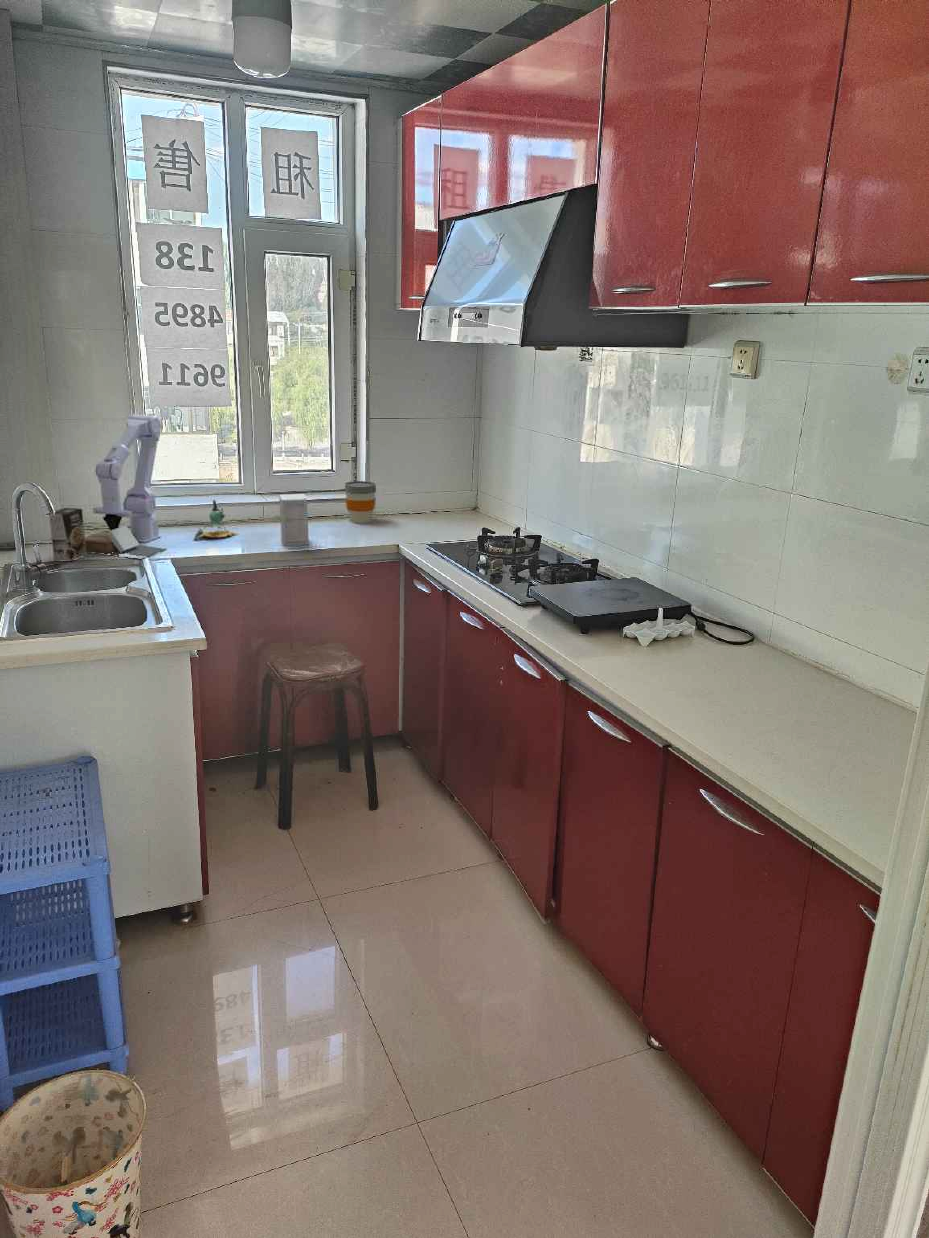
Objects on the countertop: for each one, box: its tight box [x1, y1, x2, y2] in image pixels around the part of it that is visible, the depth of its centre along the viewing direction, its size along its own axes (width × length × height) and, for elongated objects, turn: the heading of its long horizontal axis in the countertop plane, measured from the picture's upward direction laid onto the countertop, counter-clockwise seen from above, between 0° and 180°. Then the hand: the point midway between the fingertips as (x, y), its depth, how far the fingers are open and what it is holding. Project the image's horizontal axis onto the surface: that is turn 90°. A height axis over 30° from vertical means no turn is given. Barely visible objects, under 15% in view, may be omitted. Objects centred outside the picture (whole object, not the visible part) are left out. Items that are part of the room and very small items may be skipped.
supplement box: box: [279, 493, 310, 547], centre depth 320 cm, size 10×9×17 cm
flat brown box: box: [85, 530, 134, 554], centre depth 306 cm, size 14×12×4 cm
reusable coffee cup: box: [344, 480, 377, 524], centre depth 355 cm, size 13×13×15 cm
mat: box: [109, 544, 168, 557], centre depth 303 cm, size 14×13×1 cm
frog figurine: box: [192, 499, 239, 542], centre depth 325 cm, size 10×18×15 cm, turn 123°
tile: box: [107, 525, 141, 553], centre depth 303 cm, size 8×8×2 cm
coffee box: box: [48, 507, 88, 561], centre depth 291 cm, size 9×6×16 cm
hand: (114, 536), depth 304 cm, fingers closed, pressing on tile
